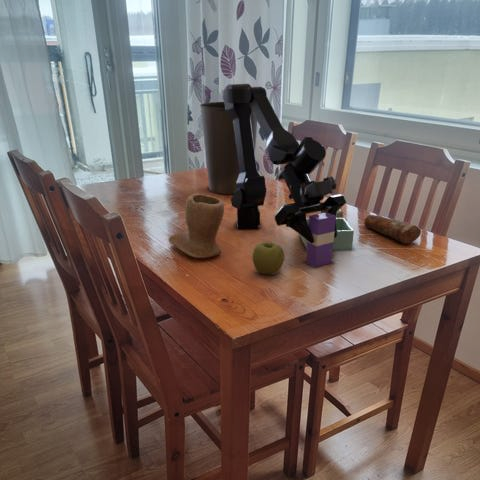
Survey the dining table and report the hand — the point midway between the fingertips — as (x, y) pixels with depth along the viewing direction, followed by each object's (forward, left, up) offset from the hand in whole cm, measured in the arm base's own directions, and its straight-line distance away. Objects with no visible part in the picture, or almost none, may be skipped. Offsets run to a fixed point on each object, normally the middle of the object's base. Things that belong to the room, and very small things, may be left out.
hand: (324, 239), depth 115 cm
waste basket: (-21, +75, -7) cm, 79 cm away
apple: (-14, -4, -7) cm, 16 cm away
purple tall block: (-1, +1, -7) cm, 7 cm away
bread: (+23, +20, -7) cm, 31 cm away
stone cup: (-31, +11, -7) cm, 34 cm away
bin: (+4, +15, -7) cm, 17 cm away
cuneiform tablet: (+10, +31, -7) cm, 33 cm away
